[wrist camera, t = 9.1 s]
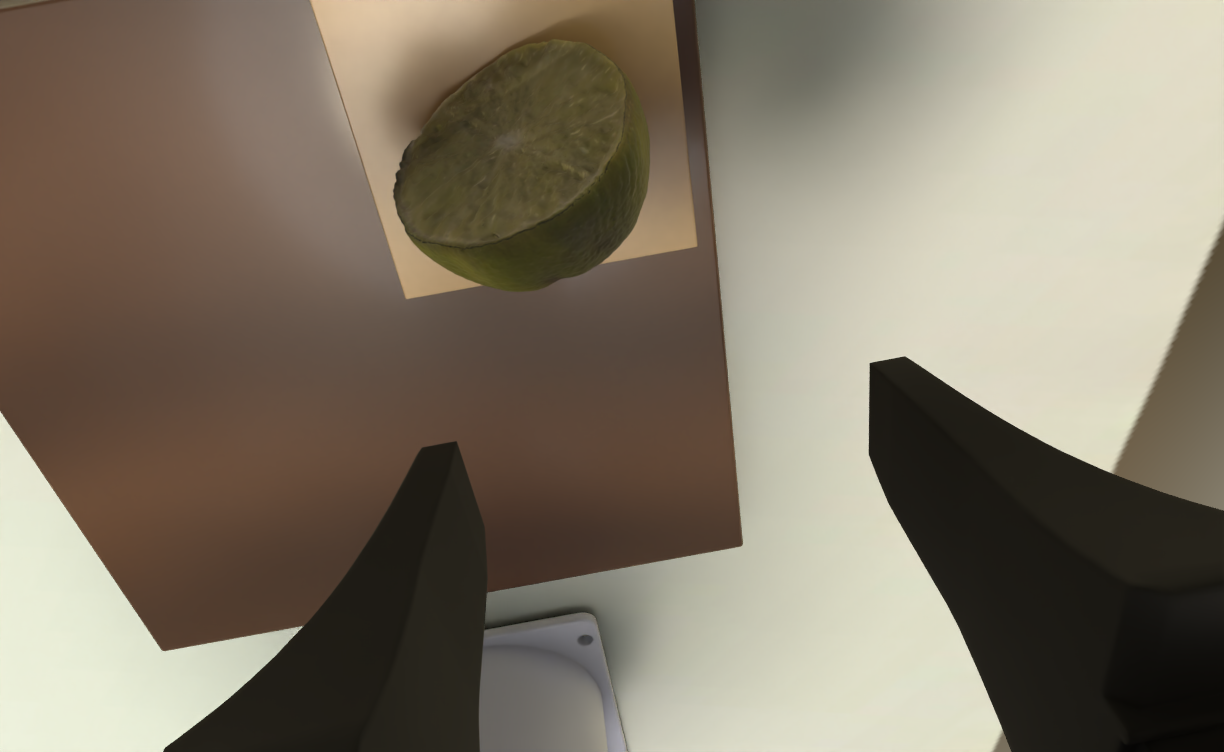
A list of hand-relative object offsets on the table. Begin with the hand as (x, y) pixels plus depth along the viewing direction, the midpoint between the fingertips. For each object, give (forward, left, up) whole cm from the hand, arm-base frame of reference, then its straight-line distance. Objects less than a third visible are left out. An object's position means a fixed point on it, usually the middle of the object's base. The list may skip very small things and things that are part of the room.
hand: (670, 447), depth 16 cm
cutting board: (-1, +7, -9) cm, 11 cm away
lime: (+4, +2, -7) cm, 8 cm away
